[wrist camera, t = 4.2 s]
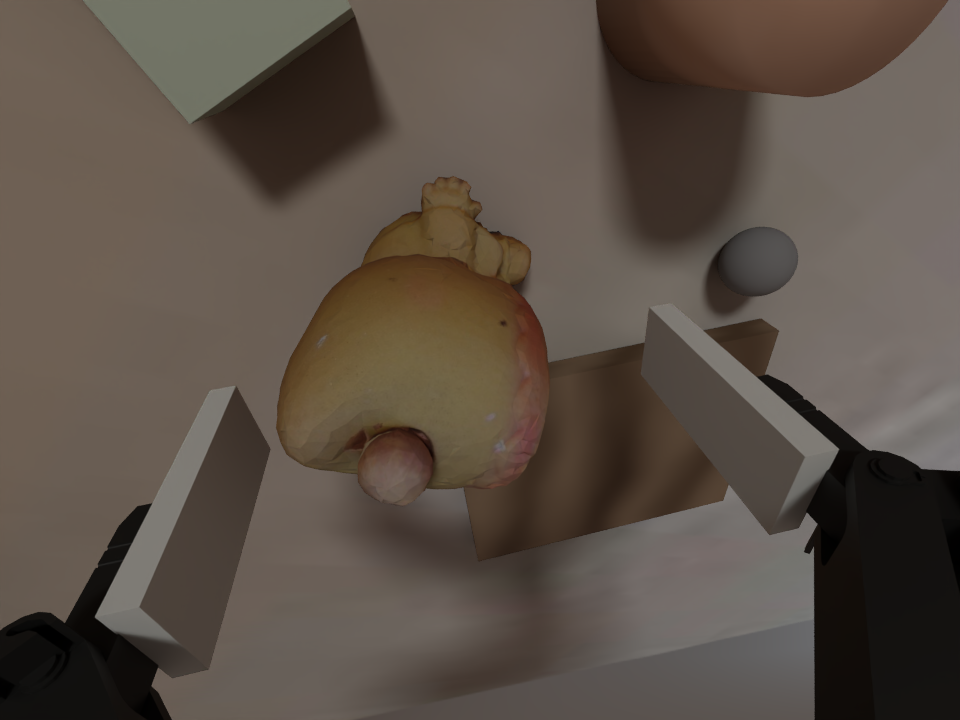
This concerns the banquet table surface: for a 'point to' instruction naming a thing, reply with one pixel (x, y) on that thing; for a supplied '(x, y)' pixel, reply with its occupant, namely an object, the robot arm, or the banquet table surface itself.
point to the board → (607, 452)
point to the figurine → (422, 360)
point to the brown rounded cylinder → (762, 41)
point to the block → (216, 43)
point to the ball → (758, 261)
